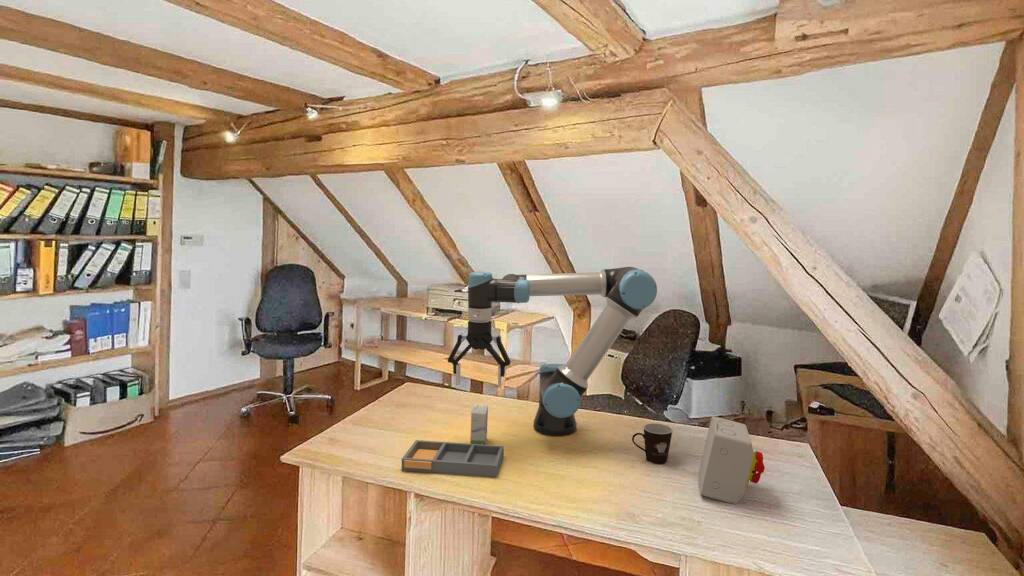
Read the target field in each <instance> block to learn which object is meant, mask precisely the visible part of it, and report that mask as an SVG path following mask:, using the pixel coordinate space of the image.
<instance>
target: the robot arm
mask: <svg viewBox="0 0 1024 576" xmlns="http://www.w3.org/2000/svg"><path fill="white" fill-rule="evenodd" d="M467 285H468V286H467V299H468V300H467V319H468V320H469V321H467V335H465V334H463V333H459V334H458V335H457V341H456V342H455V345H454V347H453V348H452V351H451V353H450V354H449V356H448V359H447V362H448V363H451V364H452V366H453V367H452V371H453V372H452V373H453V375H455V377H456V378H455V385H456V386H459V385H460V383H461V362H460V360H461V359H462V358H463V357H464V356H465V355H466V354H467V353H468V351H470V350H471V349H474V350H482V351H484V350H485V349H486V351H488V353H489V354H490V355H491V357H492V358H493V359H494V360H495V361H496V363H497V364H498V365H499V366H498V367H497V388H501V387H502V378H503V377H505V375H506V367H508V366H510V365H511V359H510V357H509V354H508V352H507V351H506V349H505V347H504V344H503V342H502V336H501V335H500V334H498V335H497V336H493V335H492V321H491V320H492V318H493V317H492V315H493V314H492V312H493V311H492V310H493V303H505V304H506V303H508V304H509V303H511V304H512V303H513V304H522V303H523V304H525V303H526V304H527V303H528V302H529V301H530V297H551V296H552V297H553V296H554V297H555V296H556V297H558V296H560V297H561V296H590V295H592V296H596V295H597V296H598V295H600V296H601V297H602V298H606V305H605V307H604V308H603V309H602V311H601V312H600V313H599V315H598V317H597V318H596V320H595V321H594V323H593V324H592V326H591V327H590V329H589V330H588V331H587V333H586V334H585V335H584V337H583V338H582V340H581V342H579V344H578V345H577V348H576V349H575V350H574V352H572V354H571V356H570V357H569V359H568V361H566V363H545V364H542V365H541V366H540V368H539V371H538V373H539V384H538V385H539V389H538V391H539V392H538V393H539V394H538V404H539V405H538V408H537V410H536V414H535V417H534V419H533V429H534V431H535V432H536V433H538V434H540V435H544V436H549V437H566V436H570V435H572V434H574V433H576V432H577V419H576V417H575V413H577V412H578V410H579V409H580V405H581V402H582V400H581V399H582V397H583V396H584V394H585V393H586V392H587V390H588V389H589V383H588V380H589V379H590V377H591V376H592V374H593V373H594V371H595V370H596V369H597V368H598V366H599V365H600V363H601V361H602V360H603V359H604V357H605V356H606V354H607V353H608V351H609V350H610V348H611V347H612V345H613V344H614V342H615V341H616V340H617V339H618V337H619V335H620V334H621V333H622V332H623V329H625V327H626V326H627V324H628V323H629V321H630V320H632V319H637V318H638V317H639V315H640V314H641V313H642V311H643V310H644V309H646V308H647V307H650V305H652V304H653V303H654V301H655V299H656V298H657V294H658V287H657V282H656V280H655V278H654V277H653V276H652V275H651V274H649V273H648V272H647V271H645V270H643V269H640V268H637V267H634V266H624V267H617V268H616V267H615V268H607V269H606V268H605V269H600V271H599V272H598V271H597V272H571V273H570V272H566V273H565V272H564V273H537V274H536V273H533V274H516V273H515V274H514V273H509V274H506V275H504V276H503V277H502V278H494V277H493V273H491V272H489V271H472V272H470V273H469V275H468V284H467ZM465 340H466V341H467V343H468V344H467V346H466V347H465V348H464V349H463V350H462V351H461V353H460V354H459V355H458V356H457V357H456V358H455V356H456V355H457V352H458V351H459V349H460V347H461V345H462V343H463V342H464V341H465ZM492 341H493V342H494V343H495V344H496V346H497V348H498V350H499V352H500V354H498V352H497V350H495V348H494V347H493V345H492V344H491V343H492ZM500 355H501V356H502V357H501V356H500Z"/></svg>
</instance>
